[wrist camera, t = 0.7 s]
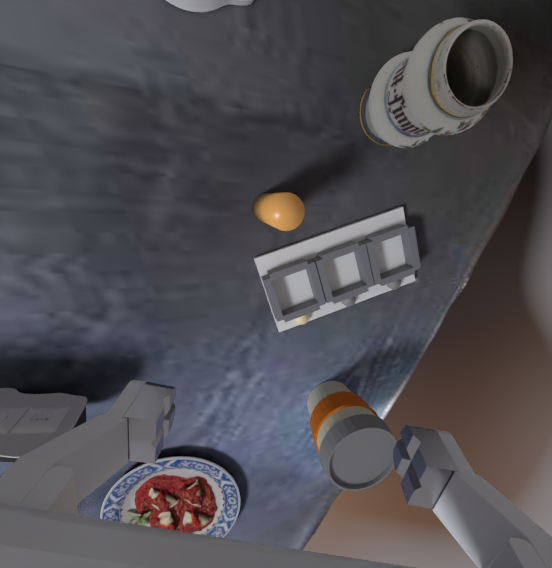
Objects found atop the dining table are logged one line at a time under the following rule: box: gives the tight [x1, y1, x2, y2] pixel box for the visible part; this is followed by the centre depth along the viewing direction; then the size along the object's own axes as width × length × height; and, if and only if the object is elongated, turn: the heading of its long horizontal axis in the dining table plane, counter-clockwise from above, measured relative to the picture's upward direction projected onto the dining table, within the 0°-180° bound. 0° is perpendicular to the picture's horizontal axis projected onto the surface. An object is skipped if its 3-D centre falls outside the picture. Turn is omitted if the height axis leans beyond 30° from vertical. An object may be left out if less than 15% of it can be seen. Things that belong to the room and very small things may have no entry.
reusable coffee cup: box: [307, 381, 397, 491], centre depth 55 cm, size 13×13×15 cm
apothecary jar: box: [360, 18, 513, 148], centre depth 41 cm, size 12×12×18 cm
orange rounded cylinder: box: [253, 192, 304, 231], centre depth 43 cm, size 4×4×14 cm
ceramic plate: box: [100, 456, 241, 538], centre depth 60 cm, size 26×26×3 cm
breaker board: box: [254, 207, 421, 332], centre depth 53 cm, size 27×14×4 cm, turn 107°
